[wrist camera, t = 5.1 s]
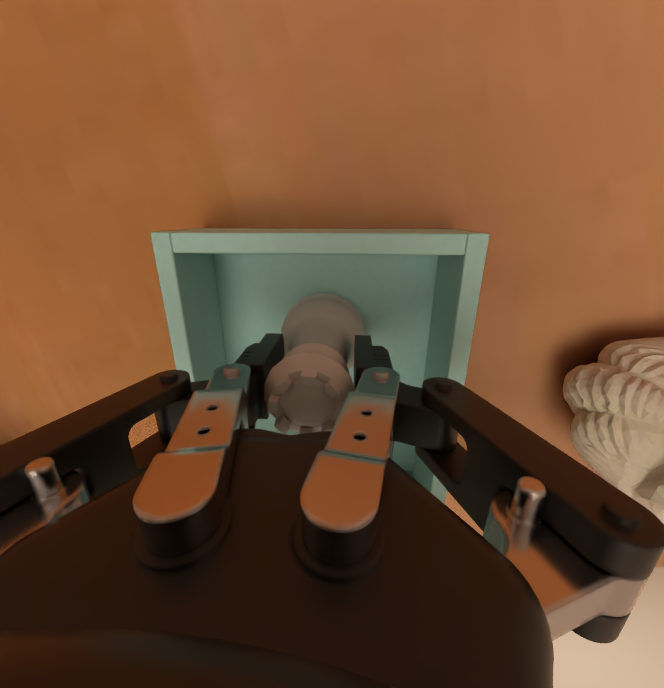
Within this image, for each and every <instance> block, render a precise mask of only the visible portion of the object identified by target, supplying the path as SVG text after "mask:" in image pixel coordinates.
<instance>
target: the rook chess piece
mask: <svg viewBox="0 0 664 688" xmlns="http://www.w3.org/2000/svg"><path fill="white" fill-rule="evenodd" d="M281 333H282V334H283V336H284V350H285V356H284V358H283V360H281V361H280V362H279V363H278V364H276V365H275V366H274V367H273V368H272V369H271V370H270V372H269V374H268V376H267V379H266V381H265V383H264V400H265V402H266V404H267V407H268V414H270V413H271V415H272V416H273V417H275V418H276V421H275V424H274V426H275V427H276V428H277V429H278V430H279V431H280V432H281V433H282V434H286V433H287V431H288V430H289V429H291V430H294V431H296V432H298V433H299V434H304V433H312V432H320V431H332V429H333V427H334V425H335V422H336V420H337V418H338V415H339V413H340V411H341V408H342V406H343V404H344V401H345V399H346V397H347V394H348V392H349V391H355V387H354V384H353V381H352V378H351V376H350V373H349V370H348V369H350V368H351V367H352V366H354V341H355V335H365V328H364V324H363V321H362V318H361V315H360V313H359V312H358V311H357V310H356V309H355V307H354V306H353V305H352V304H351V303H350V302H349V301H347V300H345V299H343V298H341V297H339V296H337V295H335V294H326V293H316V294H313V295H310V296H306V297H303V298H301V299H300V300H299V301H298V302H297V303H296V304H294V305H293V306H292V307H291V308H290V309H289V311H288V313H287V316H286V318H285V320H284V322H283V325H282V328H281Z"/></svg>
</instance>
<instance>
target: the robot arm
mask: <svg viewBox="0 0 664 688" xmlns="http://www.w3.org/2000/svg"><path fill="white" fill-rule="evenodd" d="M284 356H285V350H284V336H283V334H282V333H266V334H265V336H264V337H263V338H262V340H261V341H260V343H254V344H252V345H250V346H248V347H246V349H245V350H244V351H243V353H242V354H241V355H240V357H239V358H238V359H237V360H236V361H235V363H233V364H226V365H223V366H220V367H218V368H216V369H215V370H214V371H213V372H212V375H211V377H210V379H209V380H204V381H196V382H191V380H190V375H189V373H188V372H187V371H183V370H169V371H164V372H161V373H158V374H155V375H153V376H151V377H149V378H147V379H145V380H142V381H140V382H138V383H136V384H134V385H132V386H129V387H127V388H125V389H123V390H121V391H119V392H116V393H114V394H112V395H110V396H108V397H105V398H103V399H101V400H99V401H97V402H95V403H92V404H90V405H88V406H86V407H84V408H82V409H79V410H77V411H75V412H73V413H71V414H69V415H66V416H64V417H62V418H60V419H58V420H56V421H53V422H51V423H49V424H47V425H45V426H42V427H40V428H38V429H36V430H34V431H32V432H29V433H27V434H25V435H23V436H21V437H19V438H16V439H14V440H12V441H10V442H8V443H6V444H3V445H1V446H0V688H553V661H554V657H553V643H552V641H553V640H554V639H556V638H558V637H560V636H562V635H564V634H566V633H567V632H569V631H571V630H572V631H574V632H575V633H576V634H578V635H580V636H581V637H583V638H586V639H588V640H590V641H593V642H597V643H610V642H613V641H614V640H616V638H617V637H618V636H619V634H620V632H621V630H622V628H623V626H624V624H625V622H626V621H627V619H628V617H629V615H630V613H631V611H632V609H633V607H634V605H635V603H636V601H637V600H638V598H639V596H640V594H641V592H642V590H643V588H644V586H645V584H646V583H647V581H648V579H649V577H650V574H651V573H652V571H653V569H654V567H655V565H656V564H657V562H658V560H659V558H660V556H661V554H662V552H663V550H664V524H663V523H662V522H661V521H660V520H659V519H658V518H657V517H656V515H654V514H653V513H652V512H651V511H650V510H648V509H647V508H646V507H644V506H643V505H641V504H640V503H638V502H637V501H635V500H634V499H632V498H631V497H629V496H628V495H626V494H625V493H623V492H622V491H620V490H619V489H617V488H616V487H614V486H613V485H611V484H610V483H608V482H607V481H605V480H604V479H602V478H601V477H599V476H598V475H596V474H595V473H593V472H592V471H590V470H589V469H587V468H586V467H584V466H583V465H581V464H580V463H578V462H577V461H576V460H574V459H573V458H571V457H570V456H568V455H567V454H565V453H564V452H562V451H561V450H559V449H558V448H556V447H555V446H553V445H552V444H550V443H549V442H547V441H546V440H544V439H543V438H541V437H540V436H538V435H537V434H535V433H534V432H532V431H531V430H529V429H528V428H526V427H525V426H523V425H522V424H520V423H519V422H517V421H516V420H514V419H513V418H511V417H510V416H508V415H507V414H505V413H504V412H502V411H501V410H499V409H498V408H496V407H495V406H493V405H492V404H490V403H489V402H487V401H486V400H484V399H483V398H481V397H480V396H478V395H477V394H475V393H474V392H472V391H471V390H469V389H468V388H466V387H465V386H463V385H462V384H460V383H459V382H457V381H455V380H452V379H448V378H442V377H433V378H428V379H426V380H424V381H423V384H422V388H420V387H414V386H410V385H407V384H404V383H402V382H400V375H399V373H398V372H397V371H395V370H393V367H392V363H391V359H390V356H389V352H388V350H387V349H386V348H384V347H383V346H372V341H371V335H355V341H354V387H355V391H349V392H348V394H347V397H346V399H345V401H344V404H343V406H342V408H341V411H340V413H339V415H338V418H337V420H336V422H335V425H334V427H333V429H332V431H320V432H312V433H304V434H296V435H286V434H281V433H277V432H272V431H267V430H263V429H256V421H257V419H268V417H269V414H268V407H267V404H266V402H265V400H264V383H265V381H266V379H267V376H268V374H269V372H270V370H271V369H272V368H273V367H274V366H275V365H276V364H278V363H279V362H280V361H281V360H283V358H284ZM153 413H155V417H156V421H157V426H158V430H159V431H158V432H157V433H155V434H153V435H152V436H150V437H149V438H147V439H145V440H144V441H142V442H141V443H139V444H138V445H136V446H134V447H133V448H131V446H130V442H129V438H128V435H129V431H130V429H131V428H132V427H133V425H135V424H136V423H137V422H139V421H141V420H143V419H144V418H146V417H148V416H150V415H151V414H153ZM458 433H459V434H460V435H461V436H462V437H463V438H464V440H465V442H466V444H467V451H466V450H465V449H464V448H463V447H462V446H461V445H460V444H459V443H458V442H456V441H457V435H458ZM394 441H396V442H400V443H404V444H408V445H412V446H415V452H416V454H417V456H418V457H419V458H420V459H421V460H422V462H423V463H424V464H425V465H426V466H427V467H428V468H429V470H430V471H431V472H432V473H433V474H434V475H435V476H436V478H437V479H438V480H439V481H440V482H441V483H442V485H443V486H444V487H445V488H446V489H447V490H448V491H449V493H450V494H451V495H452V496H453V497H454V498H455V500H456V501H457V502H458V503H459V504H460V505H461V506H462V508H463V509H464V510H465V511H466V512H467V513H468V515H469V516H470V517H471V518H472V519H473V520H474V521H475V523H476V524H477V525H478V526H479V527H480V528H481V530H482V531H483V532H484V533H483V537H482V536H481V535H480V534H479V533H478V532H477V531H475V530H474V529H473V528H472V527H471V526H469V525H468V524H467V523H466V522H465V521H464V520H462V519H461V518H460V517H459V516H458V515H457V514H455V513H454V512H453V511H452V510H451V509H449V508H448V507H447V506H446V505H445V504H444V503H442V502H441V501H440V500H439V499H438V498H436V497H435V496H434V495H433V494H432V493H431V492H429V491H428V490H427V489H426V488H425V487H424V486H422V485H421V484H420V483H419V482H418V481H416V480H415V479H414V478H413V477H412V476H411V475H409V474H408V473H407V472H406V471H405V470H403V469H402V468H401V467H400V466H399V465H398V464H396V463H395V462H394V461H393V460H392V456H393V449H394Z"/></svg>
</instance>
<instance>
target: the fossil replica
mask: <svg viewBox="0 0 664 688" xmlns="http://www.w3.org/2000/svg"><path fill="white" fill-rule="evenodd" d="M563 395H564V399H565V400H566V401H567V403H568V405H569V406H570V407H571V411H572V412H574V413H575V417H574V419H573V421H572V423H571V427H570V436H571V440H572V442H573V445H574V446H575V448H576V450H577V452H578V454H579V456H580V457H581V459H582V460H584V461H585V462H586V463H587V464H588V465H589V466H591V467H592V468H593V469H594V470H595V471H596V472H597V473H598V474H599V475H600V476H601V477H602V478H603V479H604V480H605V481H607V482H608V483H610V484H611V485H613V486H614V487H616V488H617V489H619V490H620V491H622V492H623V493H625V494H626V495H628V496H629V497H631V498H632V499H634V500H635V501H637V502H638V503H640V504H641V505H643V506H644V507H646V508H647V509H648V510H650V511H651V512H652V513H653V514H654V515H656V517H657V518H658V519H659V520H660V521H661V522H662V523H663V524H664V337H655V338H641V339H629V340H623V341H616V342H613V343H611V344H609V345H607V346H606V347H605V348H604V349H603V350H602V351H601V352H600V354H599V356H598V362H597V363H591V364H588V365H580V366H577V367H575V368H574V369H572V370H571V371H570V372H569V373H568V374H567V375H566V376H565V379H564V383H563Z"/></svg>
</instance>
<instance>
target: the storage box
mask: <svg viewBox="0 0 664 688" xmlns="http://www.w3.org/2000/svg"><path fill="white" fill-rule="evenodd" d="M151 239H152V245H153V250H154V255H155V261H156V266H157V271H158V276H159V282H160V287H161V292H162V298H163V303H164V308H165V313H166V319H167V324H168V329H169V335H170V340H171V345H172V350H173V356H174V361H175V366H176V370H183V371H187V372H188V373H189V375H190V380H191V382H196V381H204V380H209V379H210V377H211V375H212V372H213V371H214V370H215V369H216V368H218V367H220V366H223V365H226V364H233V363H235V361H236V360H237V359H238V358H239V357H240V355H241V354H242V353H243V351H244V350H245V349H246V347H248V346H250V345H252V344H254V343H260V341H261V340H262V338H263V337H264V336H265V334H266V333H281V328H282V325H283V322H284V320H285V318H286V316H287V313H288V311H289V309H290V308H291V307H292V306H293V305H294V304H296V303H297V302H298V301H299V300H300V299H301V298H303V297H306V296H310V295H313V294H316V293H326V294H335V295H337V296H339V297H341V298H343V299H345V300H347V301H349V302H350V303H351V304H352V305H353V306H354V307H355V309H356V310H357V311H358V312H359V313H360V315H361V318H362V321H363V324H364V328H365V335H371V341H372V346H383V347H384V348H386V349H387V350H388V352H389V356H390V359H391V363H392V367H393V370H395V371H397V372H398V373H399V375H400V382H402V383H404V384H407V385H410V386H414V387H420V388H422V384H423V381H424V380H426V379H428V378H433V377H442V378H448V379H452V380H455V381H457V382H459V383H460V384H462V385H463V386H464V384H465V378H466V372H467V366H468V360H469V354H470V348H471V342H472V336H473V330H474V324H475V318H476V312H477V306H478V300H479V295H480V289H481V283H482V277H483V271H484V265H485V259H486V253H487V247H488V241H489V234H488V233H480V232H473V231H465V230H457V229H348V228H195V229H183V230H170V231H158V232H151ZM348 370H349V373H350V376H351V378H352V381H353V384H354V366H352V367H351V368H350V369H348ZM275 421H276V418H275V417H273V416H272V415H271V413H270V414H269V417H268V419H257V421H256V429H263V430H267V431H272V432H277V433H281V432H280V431H279V430H278V429H277V428H276V427H275V426H274V424H275ZM281 434H282V433H281ZM296 434H299V433H298V432H296V431H294V430H291V429H289V430H288V431H287V433H286V435H296ZM392 460H393V461H394V462H395V463H396V464H398V465H399V466H400V467H401V468H402V469H403V470H405V471H406V472H407V473H408V474H409V475H411V476H412V477H413V478H414V479H415V480H416V481H418V482H419V483H420V484H421V485H422V486H424V487H425V488H426V489H427V490H428V491H429V492H431V493H432V494H433V495H434V496H435V497H436V498H438V499H439V500H440V501H441V502H442V503H444V504H445V498H446V492H447V489H446V488H445V487H444V486H443V485H442V483H441V482H440V481H439V480H438V479H437V478H436V476H435V475H434V474H433V473H432V472H431V471H430V470H429V468H428V467H427V466H426V465H425V464H424V463H423V462H422V460H421V459H420V458H419V457H418V456H417V454H416V452H415V446H412V445H408V444H404V443H400V442H396V441H394V449H393V456H392Z"/></svg>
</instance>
